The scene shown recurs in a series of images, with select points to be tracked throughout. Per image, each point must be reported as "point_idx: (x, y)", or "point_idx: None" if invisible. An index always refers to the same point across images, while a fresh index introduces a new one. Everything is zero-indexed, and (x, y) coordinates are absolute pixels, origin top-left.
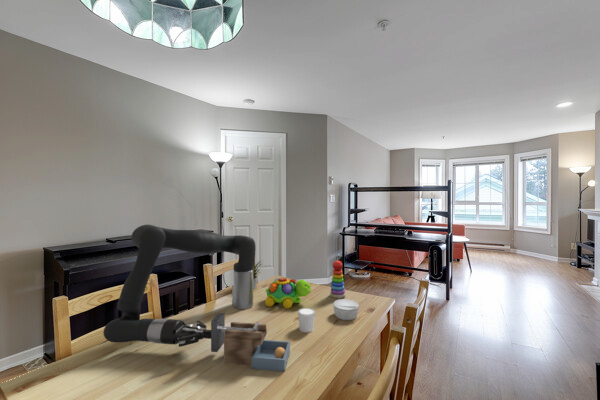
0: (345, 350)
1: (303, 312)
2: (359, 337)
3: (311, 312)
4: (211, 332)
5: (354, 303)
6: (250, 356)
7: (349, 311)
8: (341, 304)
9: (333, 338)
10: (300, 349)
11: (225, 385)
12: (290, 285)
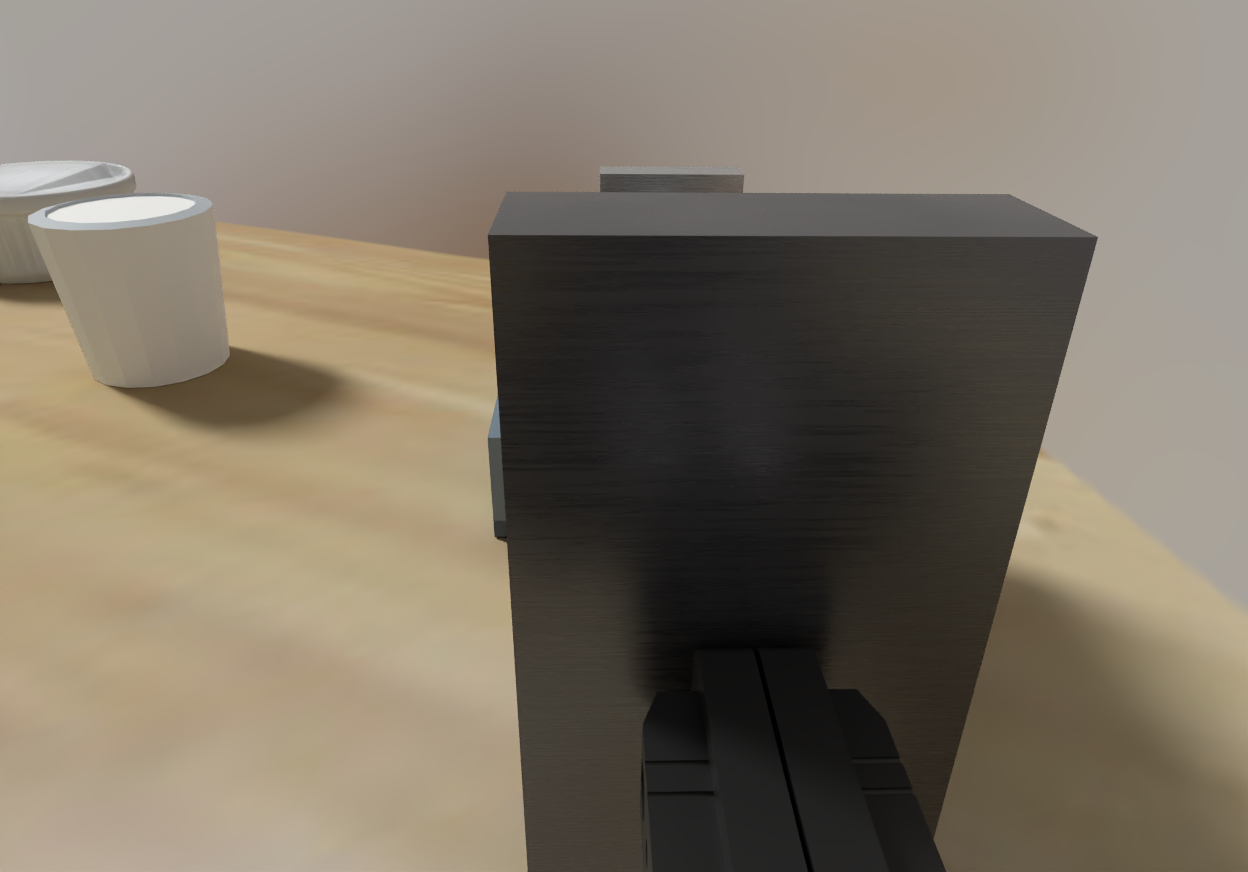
0: (489, 270)
1: (135, 215)
2: (360, 245)
3: (158, 200)
4: (1005, 547)
5: (44, 165)
6: None
7: (134, 188)
8: (18, 183)
9: (353, 290)
10: (482, 367)
11: (1154, 640)
12: None
